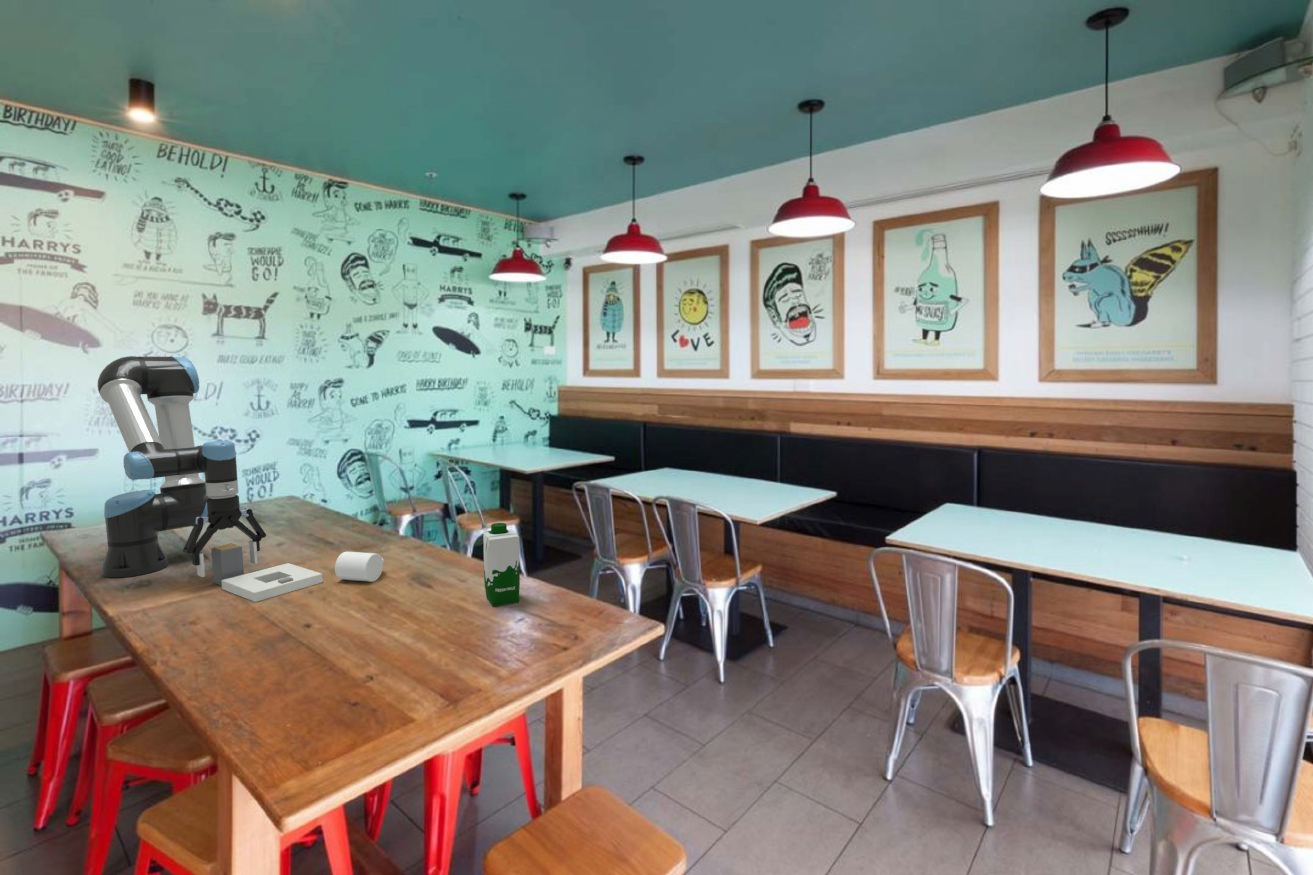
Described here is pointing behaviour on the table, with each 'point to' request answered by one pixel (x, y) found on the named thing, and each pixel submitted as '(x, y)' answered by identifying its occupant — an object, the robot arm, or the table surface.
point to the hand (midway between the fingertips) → (228, 569)
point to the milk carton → (501, 565)
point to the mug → (359, 566)
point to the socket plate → (271, 582)
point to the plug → (227, 562)
